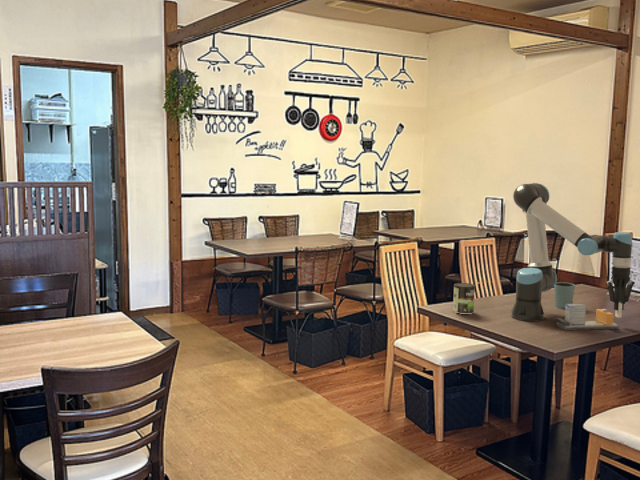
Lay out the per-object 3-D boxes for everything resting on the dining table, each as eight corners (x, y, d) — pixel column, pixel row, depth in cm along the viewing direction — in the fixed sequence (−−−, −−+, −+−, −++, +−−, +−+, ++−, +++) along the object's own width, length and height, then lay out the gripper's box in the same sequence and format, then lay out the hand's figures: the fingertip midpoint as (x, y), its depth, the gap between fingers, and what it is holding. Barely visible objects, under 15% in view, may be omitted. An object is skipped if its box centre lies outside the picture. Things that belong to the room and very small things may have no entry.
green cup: (570, 304, 326) (571, 282, 324) (576, 309, 316) (577, 286, 314) (550, 304, 327) (551, 282, 325) (555, 308, 317) (557, 286, 315)
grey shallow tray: (565, 330, 277) (565, 323, 277) (555, 324, 286) (555, 318, 286) (619, 329, 280) (620, 321, 279) (608, 323, 289) (609, 316, 288)
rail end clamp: (606, 324, 279) (607, 311, 278) (595, 319, 288) (596, 307, 287) (612, 324, 279) (613, 311, 278) (601, 319, 288) (602, 306, 287)
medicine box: (580, 321, 285) (581, 303, 284) (585, 324, 280) (586, 305, 279) (563, 322, 284) (565, 303, 283) (568, 324, 280) (569, 306, 279)
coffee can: (478, 312, 308) (479, 285, 306) (465, 316, 301) (466, 287, 300) (461, 308, 316) (462, 281, 314) (448, 311, 309) (449, 284, 307)
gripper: (612, 268, 276) (609, 319, 279) (639, 267, 278) (636, 318, 281) (603, 265, 284) (600, 315, 287) (629, 264, 285) (626, 314, 288)
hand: (618, 316), depth 284 cm, fingers closed
